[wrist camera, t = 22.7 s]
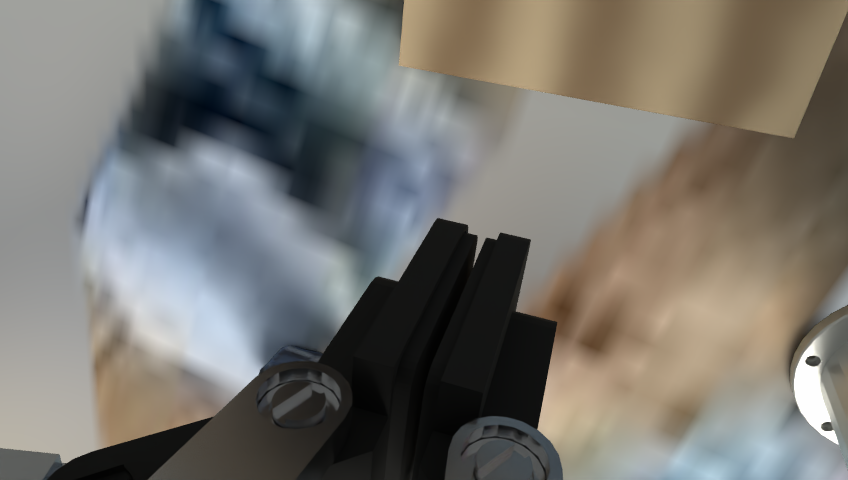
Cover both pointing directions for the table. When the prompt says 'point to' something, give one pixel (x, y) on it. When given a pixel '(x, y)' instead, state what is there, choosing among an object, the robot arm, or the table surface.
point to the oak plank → (638, 52)
